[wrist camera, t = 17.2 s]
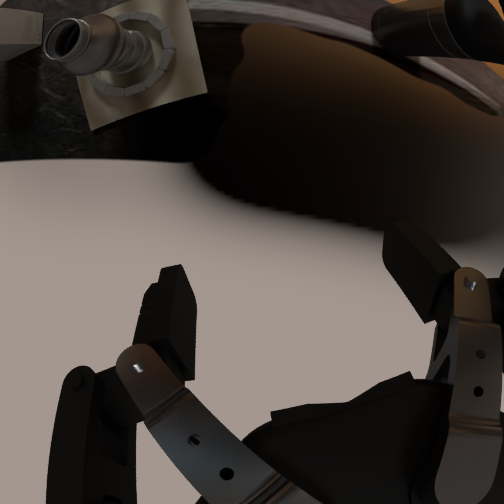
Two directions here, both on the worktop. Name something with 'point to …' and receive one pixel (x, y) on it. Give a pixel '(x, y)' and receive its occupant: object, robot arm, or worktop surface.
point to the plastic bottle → (97, 46)
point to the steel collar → (157, 74)
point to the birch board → (149, 65)
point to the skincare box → (19, 32)
